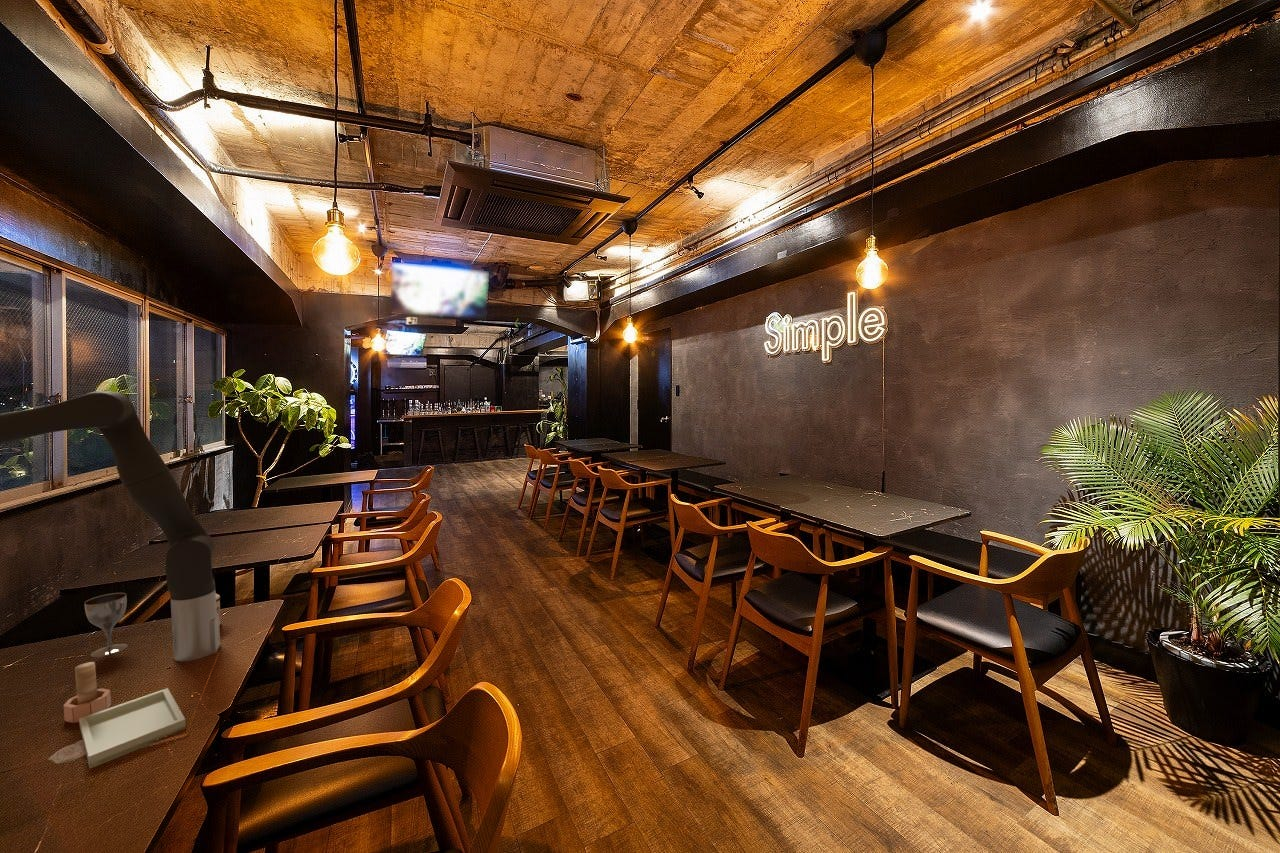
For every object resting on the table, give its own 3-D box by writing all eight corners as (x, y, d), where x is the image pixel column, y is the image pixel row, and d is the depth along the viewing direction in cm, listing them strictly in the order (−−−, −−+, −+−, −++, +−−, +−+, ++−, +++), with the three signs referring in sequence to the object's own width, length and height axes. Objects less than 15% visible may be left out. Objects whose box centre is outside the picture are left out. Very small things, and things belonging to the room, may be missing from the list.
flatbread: (105, 733, 106) (105, 729, 106) (109, 750, 101) (109, 745, 101) (46, 755, 100) (46, 750, 100) (47, 774, 95) (47, 769, 95)
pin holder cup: (114, 702, 116) (113, 685, 116) (104, 717, 111) (102, 700, 110) (73, 711, 113) (72, 694, 113) (60, 728, 107) (59, 710, 107)
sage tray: (79, 729, 107) (79, 718, 107) (168, 697, 118) (167, 687, 118) (89, 768, 96) (88, 756, 96) (185, 730, 107) (185, 719, 107)
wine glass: (126, 640, 144) (123, 590, 143) (132, 649, 140) (129, 597, 139) (86, 652, 138) (82, 599, 137) (90, 661, 133) (86, 607, 132)
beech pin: (100, 706, 114) (97, 660, 113) (95, 713, 111) (91, 666, 110) (81, 711, 112) (78, 664, 111) (76, 718, 110) (72, 670, 109)
